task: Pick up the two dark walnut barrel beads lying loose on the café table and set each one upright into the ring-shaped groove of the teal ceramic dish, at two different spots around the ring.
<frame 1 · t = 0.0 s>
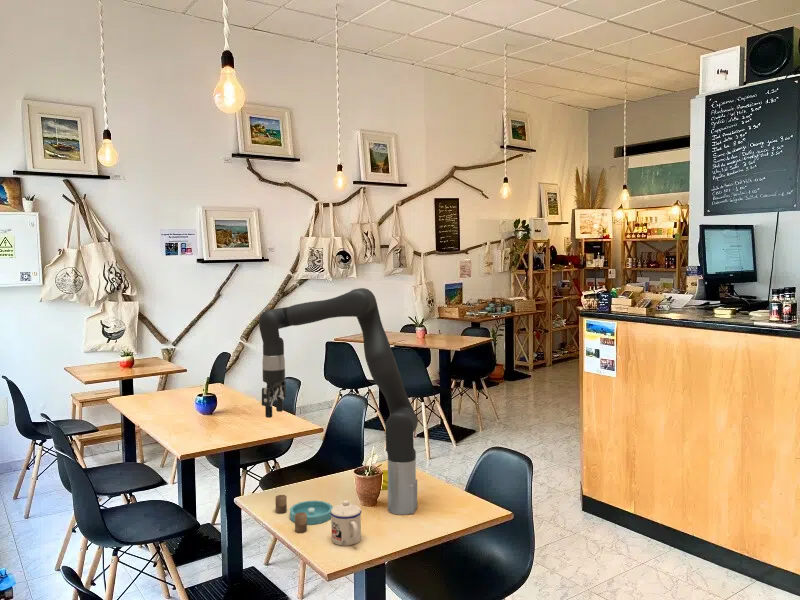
hand: (274, 414, 221), 29 cm above the table, fingers open, 8 cm apart
groove tray: (311, 516, 207), on the table
walnut bead 2: (300, 530, 196), on the table
decorative disc: (385, 483, 238), on the table
walnut bead 1: (281, 511, 210), on the table
teacup with lid: (348, 542, 188), on the table
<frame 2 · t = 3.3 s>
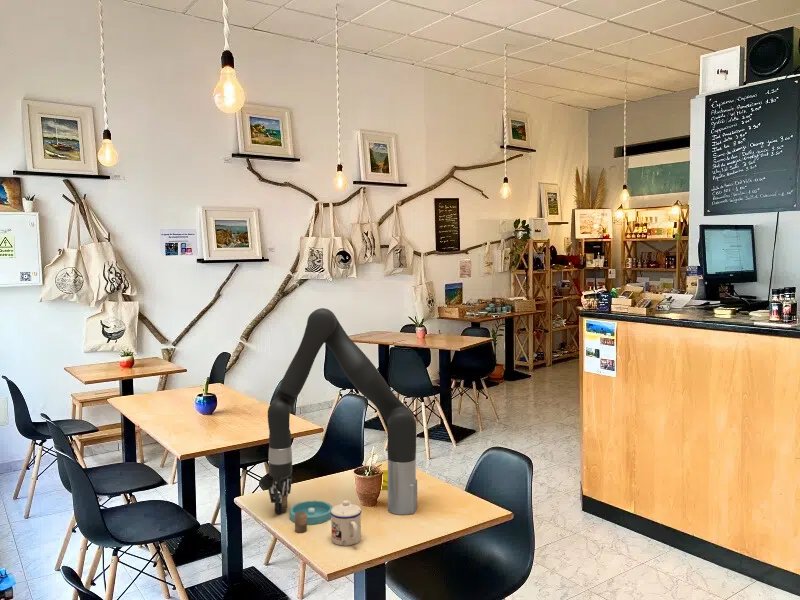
hand: (281, 511, 210), 0 cm above the table, fingers closed on walnut bead 1, 3 cm apart
walnut bead 1: (281, 511, 210), on the table, touching gripper
everything else where it was.
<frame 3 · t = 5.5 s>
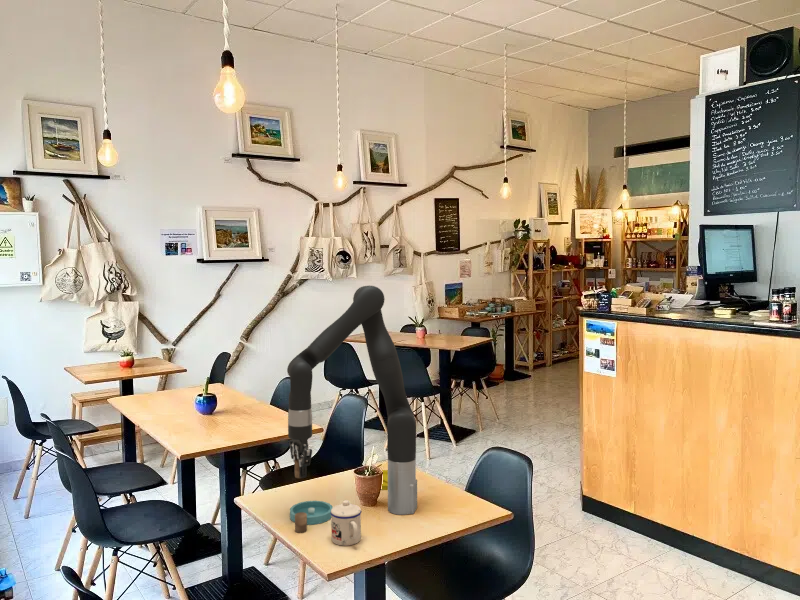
hand: (300, 475, 204), 14 cm above the table, fingers closed on walnut bead 1, 3 cm apart
walnut bead 1: (300, 476, 204), point 14 cm above the table, touching gripper
everything else where it was.
when the fingers open (2 cm above the table, at t = 7.8 s): walnut bead 1 drops 1 cm, resting on groove tray.
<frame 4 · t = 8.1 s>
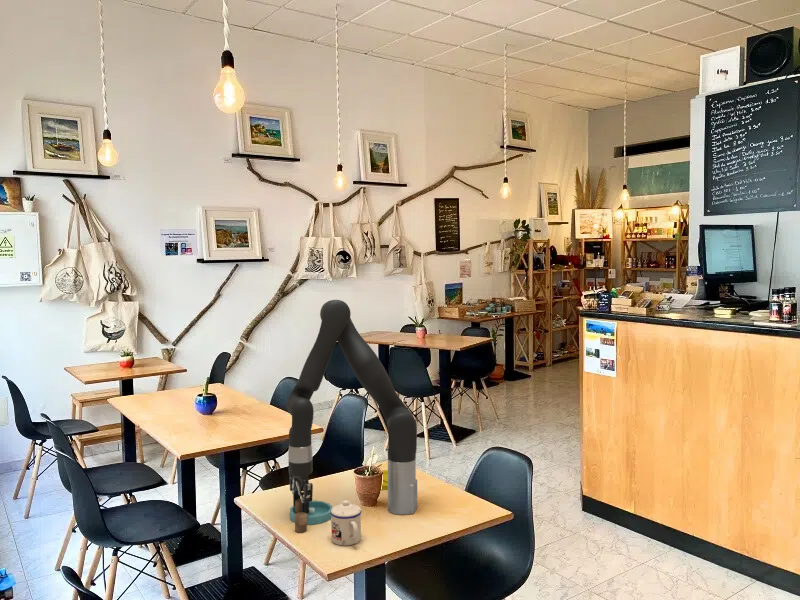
hand: (301, 509, 205), 3 cm above the table, fingers open, 6 cm apart
walnut bead 1: (301, 515, 205), point 1 cm above the table, touching groove tray
everything else where it was.
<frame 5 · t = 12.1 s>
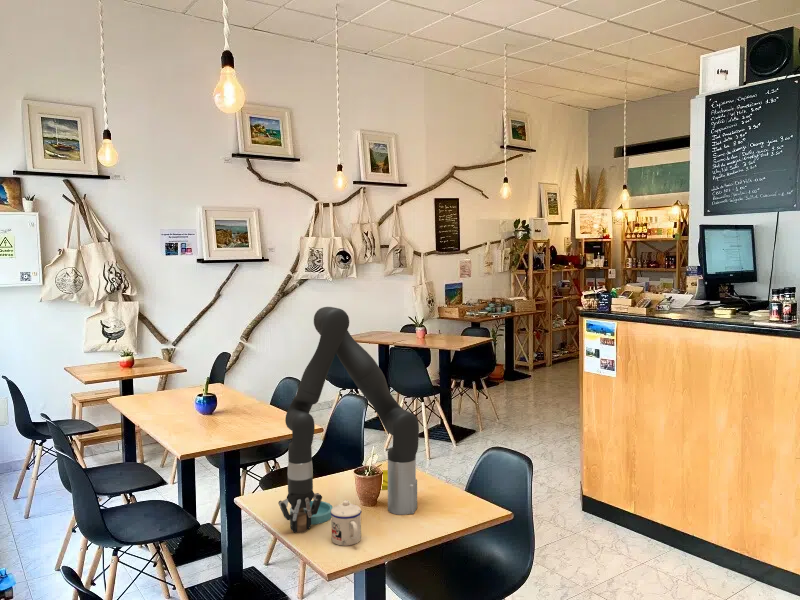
hand: (300, 529, 196), 0 cm above the table, fingers closed on walnut bead 2, 3 cm apart
walnut bead 2: (300, 530, 196), on the table, touching gripper
everything else where it was.
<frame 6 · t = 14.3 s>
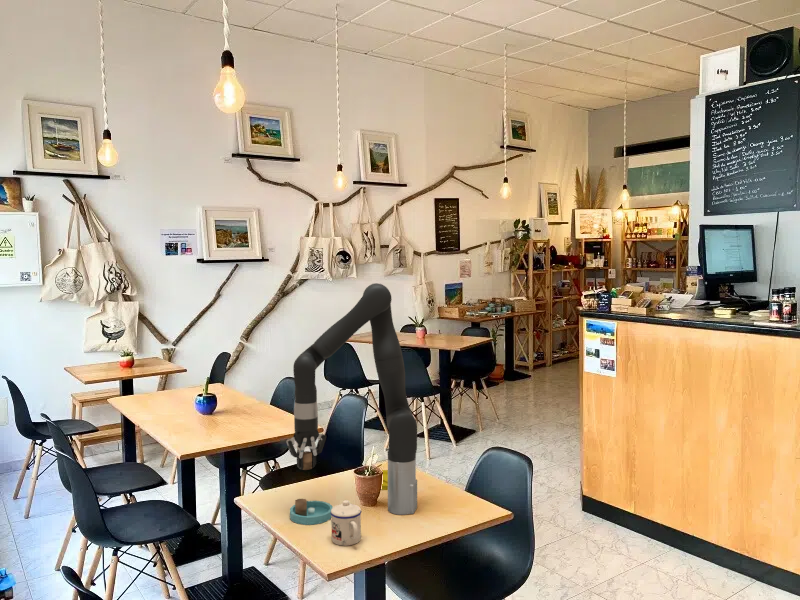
hand: (306, 467, 209), 15 cm above the table, fingers closed on walnut bead 2, 3 cm apart
walnut bead 2: (306, 468, 209), point 15 cm above the table, touching gripper
everything else where it was.
when the fingers open (2 cm above the table, at t = 16.9 s): walnut bead 2 drops 1 cm, resting on groove tray.
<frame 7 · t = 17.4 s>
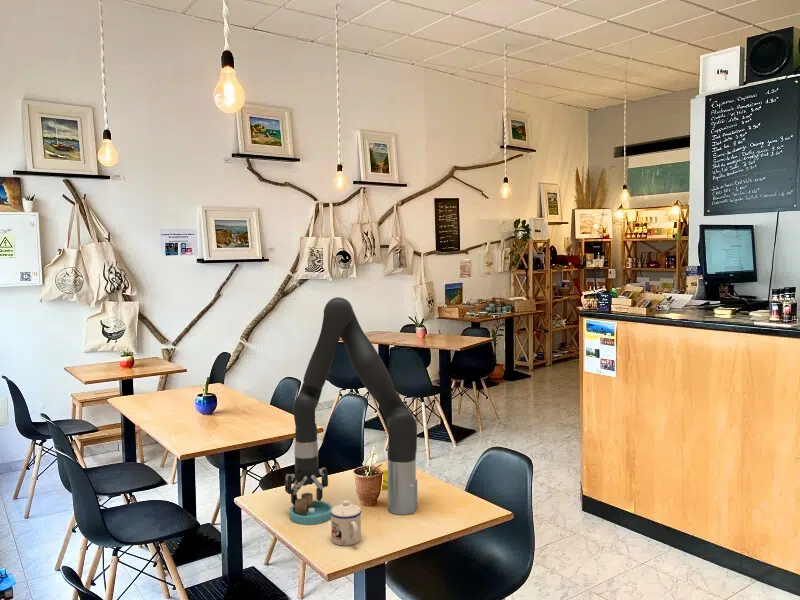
hand: (307, 502, 210), 3 cm above the table, fingers open, 8 cm apart
walnut bead 2: (307, 509, 210), point 1 cm above the table, touching groove tray
everything else where it was.
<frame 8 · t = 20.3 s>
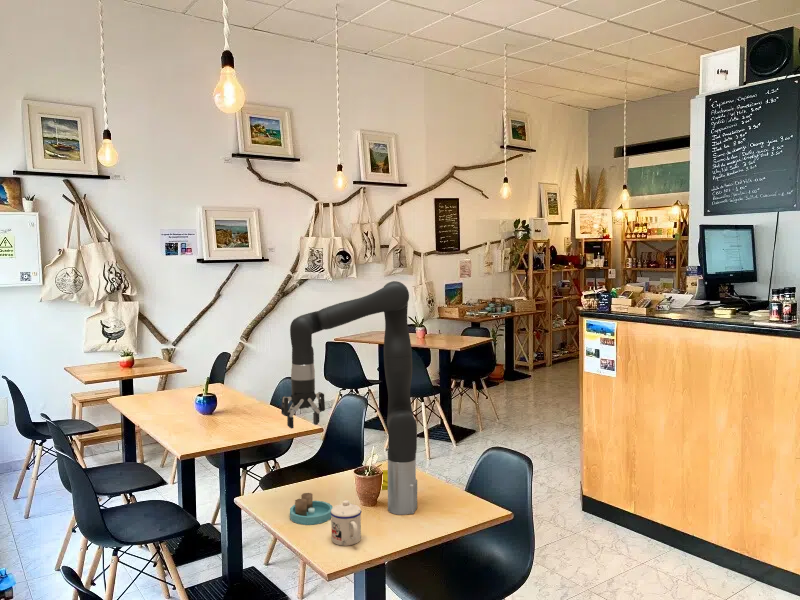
hand: (303, 426, 210), 28 cm above the table, fingers open, 8 cm apart
nothing on the table moved.
at the end: walnut bead 1 0.2 cm from the target spot on the groove tray, point 0.8 cm above the groove tray's base; walnut bead 2 0.2 cm from the target spot on the groove tray, point 0.8 cm above the groove tray's base; walnut bead 1 tilted 0° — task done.
